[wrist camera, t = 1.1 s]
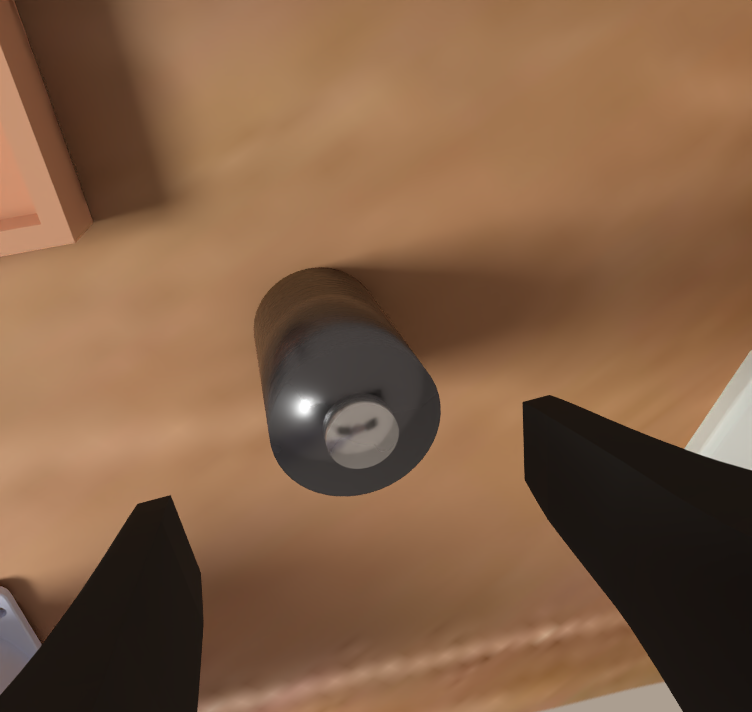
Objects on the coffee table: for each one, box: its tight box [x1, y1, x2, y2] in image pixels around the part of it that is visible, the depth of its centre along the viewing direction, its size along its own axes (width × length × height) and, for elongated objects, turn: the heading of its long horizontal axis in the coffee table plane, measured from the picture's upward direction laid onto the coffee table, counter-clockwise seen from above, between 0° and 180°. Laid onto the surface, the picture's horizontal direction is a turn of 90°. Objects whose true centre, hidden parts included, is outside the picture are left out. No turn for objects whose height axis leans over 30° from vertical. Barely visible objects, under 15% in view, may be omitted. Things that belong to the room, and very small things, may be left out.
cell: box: [254, 268, 441, 496], centre depth 17 cm, size 4×4×7 cm
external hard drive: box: [685, 350, 752, 470], centre depth 29 cm, size 2×8×12 cm
